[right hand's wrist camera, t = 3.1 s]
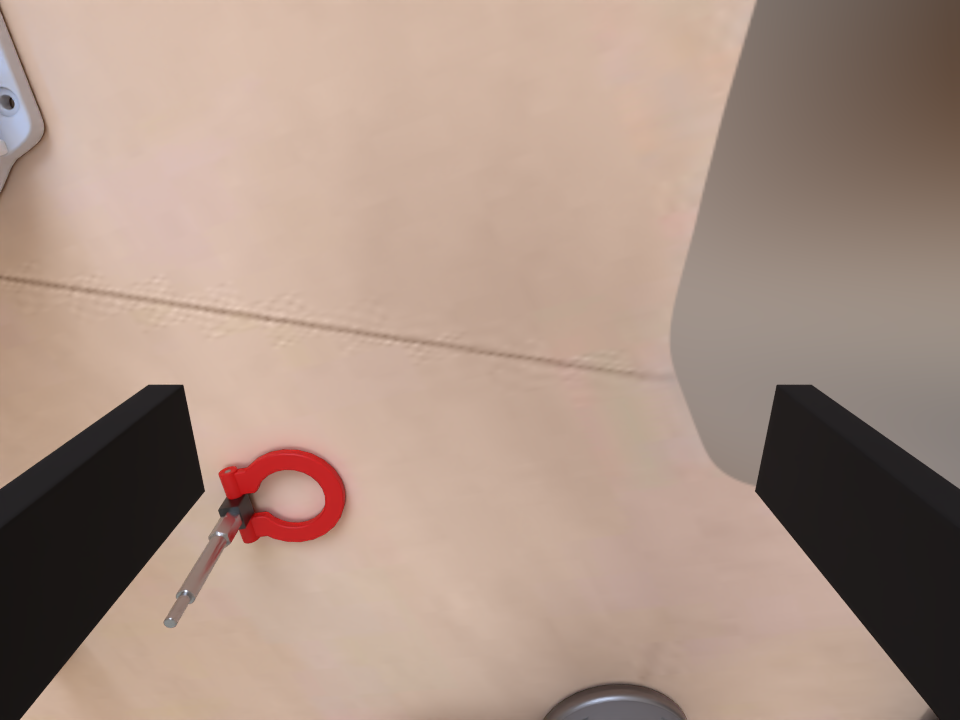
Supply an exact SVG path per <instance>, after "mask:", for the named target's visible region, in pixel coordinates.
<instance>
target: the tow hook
mask: <svg viewBox="0 0 960 720" xmlns="http://www.w3.org/2000/svg"><path fill="white" fill-rule="evenodd" d="M281 470H296V471H299V472H303V473H305V474H307V475H309V476H311V477H312V478H313V479H315V480H316V481H317V482H318V483H319V485H320V486H321V487H322V489H323V492H324V494H325V507H324V509H323V510H322V512H321V513H320V514H319V515H317V516H316V517H315V518H313V519H311V520H308V521H305V522H300V523H296V522H287V521H283V520H280V519H278V518H276V517H274V516H273V515H271V514H270V513H269V512H259V513H254V510H253V507H252V504H251V501H250V498H249V496H248V494H249V493H255V492H256V491H257V490H258V488H259V487H260V483H261V482H262V480H263V479H265V478H266V477H267V476H268V475H270V474H272V473H274V472H276V471H281ZM219 477H220V480H221V482H222V485H223V488H224V491H225V493H226V496H227V497H226V499H225V500H224V502H223V504H222V505H221V507H220V508H219V510H218V511H219V514H220V517H221V518H220V519H219V521H218V523H217V524H216V526H215V527H214V529H213V530H212V532H211V533H210V535H209V542H208V544H207V546H206V547H205V549H204V551H203V552H202V554H201V555H200V557H199V559H198V560H197V562H196V563H195V565H194V567H193V568H192V570H191V571H190V573H189V575H188V576H187V578H186V579H185V581H184V583H183V584H182V586H181V588H180V589H179V591H178V592H177V594H176V599H177V600H176V602H175V604H174V605H173V607H172V608H171V610H170V612H169V613H168V615H167V617H166V618H165V620H164V625H165V626H166V627H168V628H173V627H175V626H176V625H177V623H178V622H179V620H180V618H181V616H182V615H183V613H184V611H185V609H186V608H187V606H188V604H191V603H193V602H194V600H195V599H196V597H197V595H198V593H199V592H200V590H201V588H202V586H203V585H204V583H205V581H206V579H207V578H208V576H209V574H210V572H211V571H212V569H213V567H214V566H215V564H216V562H217V560H218V559H219V557H220V555H221V553H222V552H223V550H224V548H226V547H227V546H228V545H229V544H230V543H231V542H232V540H233V539H234V537H235V535H236V533H237V531H238V530H239V531H240V534H241V536H242V539H243V542H244V543H252V542H254V541H256V540H258V539H259V538H260V537H262V536H269V537H271V538H274V539H278V540H282V541H286V542H303V541H308V540H313V539H315V538H318V537H320V536H322V535H324V534H326V533H327V532H328V531H329V530H331V529H332V528H333V527H334V526H335V525H336V523H337V522H338V520H339V519H340V517H341V514H342V511H343V508H344V504H345V489H344V486H343V483H342V480H341V478H340V477H339V475H338V474H337V472H336V471H335V469H334V468H333V467H331V466H330V465H329V464H328V463H327V462H326V461H325V460H323V459H321V458H319V457H317V456H315V455H313V454H311V453H308V452H304V451H300V450H286V449H283V450H278V451H273V452H269V453H267V454H265V455H263V456H261V457H259V458H257V459H256V460H255V461H254V462H253V463H252V464H250V465H249V466H248V467H247V468H241V469H237V467H235V466H231V467H227V468H225V469H223V470H221V471H220V472H219Z"/></svg>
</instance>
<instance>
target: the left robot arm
mask: <svg viewBox="0 0 960 720" xmlns="http://www.w3.org/2000/svg"><path fill="white" fill-rule="evenodd" d="M10 97H11V98H12V99H13V101H14V108H12V107H11V106H10V103H9V99H10ZM43 133H44V123H43V119H42V116H41V114H40V111H39V109H38V106H37V103H36V101H35V98H34V96H33V93H32V91H31V88H30V86H29V83H28V80H27V78H26V75H25V73H24V70H23V68H22V65H21V63H20V60H19V58H18V55H17V52H16V50H15V47H14V45H13V42H12V40H11V37H10V35H9V32H8V29H7V27H6V24H5V22H4V19H3V17H2V14H1V12H0V192H1V190H2V188H3V186H4V184H5V181H6V179H7V177H8V174H9V172H10V170H11V168H12V166H13V164H14V163H15V161H16V160H17V159H18V158H19V157H21V156H22V155H24V154H25V153H26V152H28V151H29V150H30V149H31V148H32V147H34V146H35V145H36V144H37V143H38V142H39V141H40V139H41V138H42V136H43Z"/></svg>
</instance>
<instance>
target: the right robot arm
mask: <svg viewBox="0 0 960 720" xmlns="http://www.w3.org/2000/svg"><path fill="white" fill-rule="evenodd" d="M204 492H205V490H204V485H203V480H202V475H201V470H200V465H199V460H198V455H197V450H196V445H195V440H194V435H193V430H192V426H191V421H190V416H189V411H188V406H187V401H186V396H185V391H184V386H183V385H148V386H146V387H145V388H143V389H142V390H140V391H139V392H138V393H136V394H135V395H133V396H132V397H131V398H129V399H128V400H126V401H125V402H123V403H122V404H121V405H119V406H118V407H116V408H115V409H113V410H112V411H111V412H109V413H108V414H106V415H105V416H104V417H102V418H101V419H99V420H98V421H96V422H95V423H94V424H92V425H91V426H89V427H88V428H86V429H85V430H84V431H82V432H81V433H79V434H78V435H77V436H75V437H74V438H72V439H71V440H69V441H68V442H67V443H65V444H64V445H62V446H61V447H59V448H58V449H57V450H55V451H54V452H52V453H51V454H50V455H48V456H47V457H45V458H44V459H42V460H41V461H40V462H38V463H37V464H35V465H34V466H32V467H31V468H30V469H28V470H27V471H25V472H24V473H23V474H21V475H20V476H18V477H17V478H15V479H14V480H13V481H11V482H10V483H8V484H7V485H5V486H4V487H3V488H1V489H0V720H20V719H21V718H22V716H23V715H24V714H25V713H26V711H27V710H28V709H29V708H30V706H31V705H32V704H33V703H34V702H35V700H36V699H37V698H38V697H39V695H40V694H41V693H42V692H43V690H44V689H45V688H46V687H47V685H48V684H49V683H50V682H51V681H52V679H53V678H54V677H55V676H56V674H57V673H58V672H59V671H60V669H61V668H62V667H63V666H64V664H65V663H66V662H67V661H68V660H69V658H70V657H71V656H72V655H73V653H74V652H75V651H76V650H77V648H78V647H79V646H80V645H81V644H82V642H83V641H84V640H85V639H86V637H87V636H88V635H89V634H90V632H91V631H92V630H93V629H94V627H95V626H96V625H97V624H98V623H99V621H100V620H101V619H102V618H103V616H104V615H105V614H106V613H107V611H108V610H109V609H110V608H111V606H112V605H113V604H114V603H115V602H116V600H117V599H118V598H119V597H120V595H121V594H122V593H123V592H124V590H125V589H126V588H127V587H128V585H129V584H130V583H131V582H132V581H133V579H134V578H135V577H136V576H137V574H138V573H139V572H140V571H141V569H142V568H143V567H144V566H145V564H146V563H147V562H148V561H149V560H150V558H151V557H152V556H153V555H154V553H155V552H156V551H157V550H158V548H159V547H160V546H161V545H162V544H163V542H164V541H165V540H166V539H167V537H168V536H169V535H170V534H171V532H172V531H173V530H174V529H175V527H176V526H177V525H178V524H179V523H180V521H181V520H182V519H183V518H184V516H185V515H186V514H187V513H188V511H189V510H190V509H191V508H192V506H193V505H194V504H195V503H196V502H197V500H198V499H199V498H200V497H201V495H202V494H203V493H204ZM755 492H756V493H757V494H758V495H759V497H760V498H761V499H762V500H763V502H764V503H765V504H766V505H767V506H768V508H769V509H770V510H771V511H772V513H773V514H774V515H775V516H776V518H777V519H778V520H779V521H780V523H781V524H782V525H783V526H784V527H785V529H786V530H787V531H788V532H789V534H790V535H791V536H792V537H793V539H794V540H795V541H796V542H797V544H798V545H799V546H800V547H801V548H802V550H803V551H804V552H805V553H806V555H807V556H808V557H809V558H810V560H811V561H812V562H813V563H814V564H815V566H816V567H817V568H818V569H819V571H820V572H821V573H822V574H823V576H824V577H825V578H826V579H827V581H828V582H829V583H830V584H831V585H832V587H833V588H834V589H835V590H836V592H837V593H838V594H839V595H840V597H841V598H842V599H843V600H844V602H845V603H846V604H847V605H848V606H849V608H850V609H851V610H852V611H853V613H854V614H855V615H856V616H857V618H858V619H859V620H860V621H861V623H862V624H863V625H864V626H865V627H866V629H867V630H868V631H869V632H870V634H871V635H872V636H873V637H874V639H875V640H876V641H877V642H878V644H879V645H880V646H881V647H882V648H883V650H884V651H885V652H886V653H887V655H888V656H889V657H890V658H891V660H892V661H893V662H894V663H895V664H896V666H897V667H898V668H899V669H900V671H901V672H902V673H903V674H904V676H905V677H906V678H907V679H908V681H909V682H910V683H911V684H912V685H913V687H914V688H915V689H916V690H917V692H918V693H919V694H920V695H921V697H922V698H923V699H924V700H925V702H926V703H927V704H928V705H929V706H930V708H931V709H932V710H933V711H934V713H935V714H936V715H937V716H938V718H939V719H940V720H960V489H959V488H957V487H956V486H954V485H953V484H952V483H950V482H949V481H947V480H946V479H944V478H943V477H942V476H940V475H939V474H937V473H936V472H935V471H933V470H932V469H930V468H929V467H928V466H926V465H925V464H923V463H922V462H920V461H919V460H918V459H916V458H915V457H913V456H912V455H910V454H909V453H908V452H906V451H905V450H903V449H902V448H901V447H899V446H898V445H896V444H895V443H893V442H892V441H891V440H889V439H888V438H886V437H885V436H883V435H882V434H881V433H879V432H878V431H876V430H875V429H874V428H872V427H871V426H869V425H868V424H866V423H865V422H863V421H862V420H861V419H859V418H858V417H856V416H855V415H854V414H852V413H851V412H849V411H848V410H847V409H845V408H844V407H842V406H841V405H839V404H838V403H837V402H835V401H834V400H832V399H831V398H829V397H828V396H827V395H825V394H824V393H822V392H821V391H820V390H818V389H817V388H815V387H814V386H812V385H777V386H776V391H775V396H774V401H773V406H772V411H771V416H770V421H769V426H768V430H767V436H766V440H765V445H764V450H763V455H762V460H761V465H760V470H759V475H758V480H757V485H756V490H755ZM544 720H687V719H686V716H685V714H684V713H683V711H682V710H681V709H680V708H679V706H678V705H677V704H676V703H675V702H673V701H672V700H671V699H669V698H668V697H666V696H665V695H663V694H661V693H659V692H657V691H654V690H651V689H648V688H644V687H640V686H635V685H621V684H618V685H604V686H599V687H594V688H590V689H587V690H584V691H581V692H578V693H576V694H574V695H572V696H570V697H568V698H566V699H565V700H563V701H562V702H560V703H559V704H558V705H556V706H555V707H554V708H553V709H552V710H551V711H550V712H549V713H548V714H547V716H546V717H545V719H544Z"/></svg>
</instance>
